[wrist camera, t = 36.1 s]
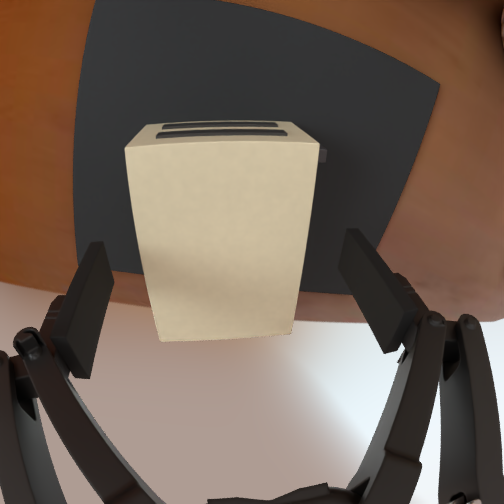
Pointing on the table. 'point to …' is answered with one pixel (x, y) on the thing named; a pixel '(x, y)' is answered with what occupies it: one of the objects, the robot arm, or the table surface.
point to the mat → (244, 114)
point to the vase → (502, 26)
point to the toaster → (222, 224)
